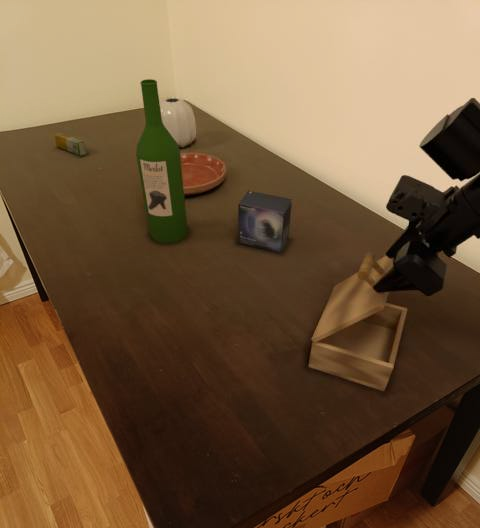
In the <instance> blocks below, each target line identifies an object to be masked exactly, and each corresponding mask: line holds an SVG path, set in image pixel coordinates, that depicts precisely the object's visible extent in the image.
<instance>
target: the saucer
mask: <svg viewBox="0 0 480 528" xmlns="http://www.w3.org/2000/svg"><path fill="white" fill-rule="evenodd" d="M180 158H181V168H182V178H183V188H184V196H192V195H198V194H199V195H200V194H202V193H205V192H207V191H210V190H212V189H214V188H215V187H217V186H219V185H220V184H222V182H224V181H225V179H226V177H227V165H226V164H225V163H224V161H222V160H221V159H220V158H218V157H216V156H214V155H210V154H206V153H200V152H199V153H198V152H180Z"/></svg>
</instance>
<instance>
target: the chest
mask: <svg viewBox="0 0 480 528" xmlns="http://www.w3.org/2000/svg"><path fill="white" fill-rule="evenodd" d="M407 312H408V308H407V307H403V306H400V305H397V304H396V305H395V304H392V303H388V302H386V303H385V306H384V309H383V310H381V311H379V312H377V313H375V314H373V315H370V316H368V317H366V318H364V319H362V320H360V321H358V322H356V323H354V324H352V325H350V326H348V327H346V328H344V329H342V330H340V331H338V332H336V333H334V334H332V335H330V336H328V337H325V338H323V339H321V340H319V341H317V342H315V343H314V342H313V341H312V343H311V349H310V354H309V360H308V366H307V367H308V368H310V369H314V370H317V371H320V372H323V373H325V374H328V375H332V376H335V377H339V378H341V379H344V380H348V381H350V382H354V383H356V384H360V385H362V386H366V387H369V388H372V389H375V390H378V391H381V392H385V391H386V389H387V386H388V383H389V381H390V379H391V375H392V373H393V371H394V366H395V363H396V358H397V356H398V355H397V354H398V351H399V346H400V342H401V338H402V334H403V329H404V326H405V322H406V317H407Z"/></svg>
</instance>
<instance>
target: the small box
mask: <svg viewBox="0 0 480 528" xmlns="http://www.w3.org/2000/svg"><path fill="white" fill-rule="evenodd" d="M237 205H238V207H237V209H238V212H237V214H238V215H237V216H238V217H237V219H238V220H237V221H238V223H237V226H238V228H237V230H238V237H237V239H238V244H240V245H245V246H248V247H253V248H256V249H261V250H265V251H269V252H274V253H278V254H282V252H283V250H284V249H285V248H286V246H287V244H288V242H289V241H290V240H289V239H290V236H289V235H290V226H291V215H292V213H291V212H292V205H293V199H292V198H287V197H282V196H277V195H272V194H267V193H262V192H257V191H252V190H247V192H246V193H245V194H244V195H243V196H242V198H241V199H240V200H239V201H238V203H237Z"/></svg>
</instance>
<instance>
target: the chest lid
mask: <svg viewBox="0 0 480 528" xmlns="http://www.w3.org/2000/svg"><path fill="white" fill-rule="evenodd" d="M393 260H394V258H391V259H390V258H388V257H387V256H386V255H384V256H383V257H381V258H380V259H377V260H376V255H375V253H373V252H367V253H365V255H364V256H363V259H362V261H361V264H360V267H359V269H358V271H357V272H356V273H354V274H353V275H351V276H349V277H348V278H346V279H344V280H343V281H341V282H339V283H337V284H336V285H334V287H333V289H332V291H331V294H330V296H329V298H328V300H327V303H326V305H325V308H324V310H323V312H322V314H321V317H320V319H319V321H318V324H317V325H316V328H315V330H314V332H313V334H312V337H311V339H310V341H312V343H313V342H314V343H315V342H317V341H319V340H321V339H323V338H325V337H328V336H330V335H332V334H334V333H336V332H338V331H340V330H342V329H344V328H346V327H348V326H350V325H352V324H354V323H356V322H358V321H360V320H362V319H364V318H366V317H368V316H370V315H373V314H375V313H377V312H379V311H381V310H383V309H384V306H385V303H387V299H388V295H389V293H390V292H382V293H377V292H376V291H375V290H374V289H373V286H374V285H375V284H376V283H377V282H378V281H379V280H380V279H381V278H382V277H383V276H384V275H385V274H386V273H387V272H388V271H389V270H390V269H391V268H392V267H393Z"/></svg>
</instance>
